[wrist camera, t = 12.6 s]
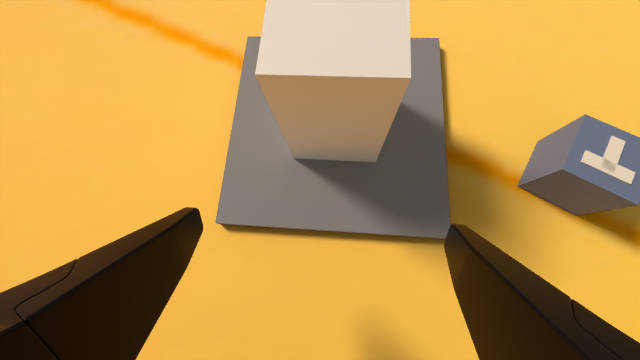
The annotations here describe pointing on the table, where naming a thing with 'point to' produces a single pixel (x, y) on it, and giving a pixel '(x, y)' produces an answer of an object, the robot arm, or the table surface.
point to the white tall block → (335, 73)
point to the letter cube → (585, 167)
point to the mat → (342, 166)
